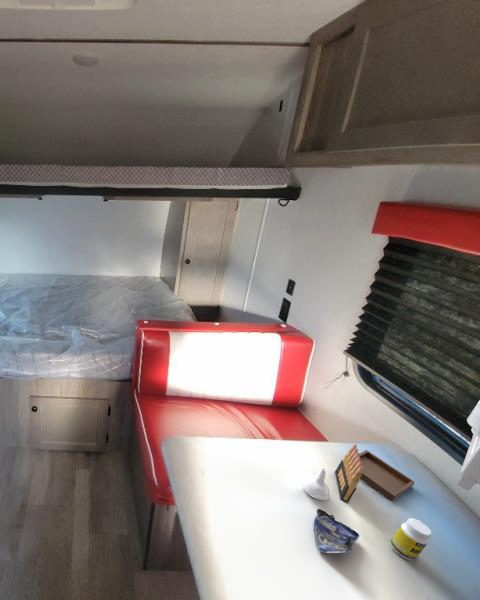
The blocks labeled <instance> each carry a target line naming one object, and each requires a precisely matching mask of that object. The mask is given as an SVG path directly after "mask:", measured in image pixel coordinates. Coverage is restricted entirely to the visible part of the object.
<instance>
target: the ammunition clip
mask: <svg viewBox="0 0 480 600" xmlns="http://www.w3.org/2000/svg"><path fill="white" fill-rule="evenodd" d="M359 453H360V452H359V450H358V448H357V444H353V445H352V446H351V447H350V449H349V450H348V452H347V453H346V454H345V456H344V458H343V459H341V460H340V462H339V464H338V466H337V467H336V469H335V470H334V475H335V481H336V486H337V490H338V494H339V499H340V500H341V501H343V502H345V503H348V504H349V503H350V501H351V499H352V498H353V496H354V495H355V492H356V490H357V486H358V483H359V482H360V480H361V479H360V477H361V475H362V472H363V466H362V462H361V461H360V460H361V459H360V457H359Z"/></svg>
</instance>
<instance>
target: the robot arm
mask: <svg viewBox="0 0 480 600" xmlns="http://www.w3.org/2000/svg"><path fill="white" fill-rule="evenodd" d="M466 422H467V424H468V425H469V426H470V427H471V429H470V430H471V433H472V438H471V441H470V444H469V447H468V449H467V452H466V454H465V458H464V461H463V462H462V465H461V469H460V474H461V477H459V480H458V481H457V486H458V487H460V488H462V489H464V490H465V491H470V490H471V489H472V488H473V487H474V486H475V485H476V484H478V485H480V400H479V401H478V402H477V403H476V405H475V407H474V408H473V409H472V411H471V412H470V414H469V416H467V418H466Z"/></svg>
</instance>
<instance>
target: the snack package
mask: <svg viewBox="0 0 480 600" xmlns="http://www.w3.org/2000/svg"><path fill="white" fill-rule="evenodd" d="M316 515H317V516H315V517H314V520H313V535H314V541H315V546H316V548H317V549H318V551H319V552H320V553H327V554H339V553H349V552H351V551H352V550H353V546H354V542H356V541H358V539H359V538H360V534H359V533H358V532H357V531H355V529H353V528H351V527H350V526H347V525H346V524H345V523H343V522H341V521H339V520H336V518H335V516H334V514H329V513H328V512H327V511H326V510H324V509H321V508H317V509H316Z"/></svg>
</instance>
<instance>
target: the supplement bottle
mask: <svg viewBox="0 0 480 600" xmlns="http://www.w3.org/2000/svg"><path fill="white" fill-rule="evenodd" d="M431 536H432V531H431V529H430V528H429V527H428V526H427V525H426V524H425V523H424V522H422V521H421V520H418V519H416V518H414V517H410V518H408V519H407V521H405V522H403V523H401V525H400V526H399V528H398V529H397V531H396V532H395V533H394V534H393V536H392V537H391V538H390V540H389V545H390V547H391V548H392V550H393V551H394V552H395V553H396V554H398V555H399V556H400V557H402V558H404V559H405V560H408V561H415V560H416V559H417V558H418V557H419V556H420V554H422V552H423V551H424V549H425V548H426V546H427V545H428V544H429V541H430V540H429V539H430V538H431Z"/></svg>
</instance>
